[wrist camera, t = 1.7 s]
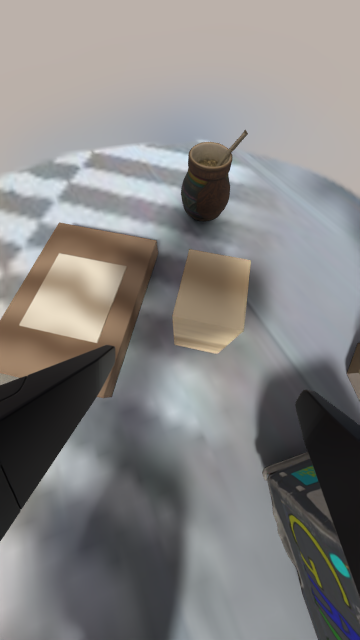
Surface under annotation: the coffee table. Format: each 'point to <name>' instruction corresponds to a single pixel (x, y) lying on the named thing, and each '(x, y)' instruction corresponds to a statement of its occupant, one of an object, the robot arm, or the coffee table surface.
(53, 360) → the loading dock
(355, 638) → the toy van
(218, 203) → the mate gourd
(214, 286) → the tan rectangular block
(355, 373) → the book stand
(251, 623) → the coffee table surface
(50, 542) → the coffee table surface
